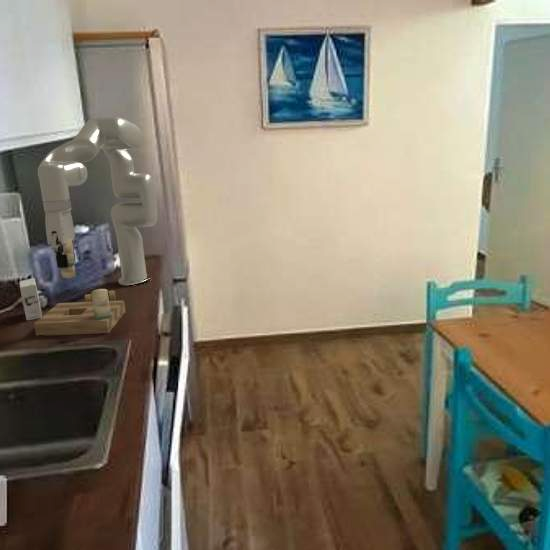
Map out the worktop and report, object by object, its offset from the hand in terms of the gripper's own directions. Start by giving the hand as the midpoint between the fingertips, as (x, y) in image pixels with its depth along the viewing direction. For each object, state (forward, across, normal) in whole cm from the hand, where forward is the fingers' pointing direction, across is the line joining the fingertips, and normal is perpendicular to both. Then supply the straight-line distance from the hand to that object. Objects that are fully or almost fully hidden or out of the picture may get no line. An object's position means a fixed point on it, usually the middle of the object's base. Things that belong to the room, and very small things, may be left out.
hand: (66, 264), depth 159 cm
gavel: (+20, -26, -1) cm, 33 cm away
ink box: (+20, -9, -18) cm, 28 cm away
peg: (+4, 0, 0) cm, 4 cm away
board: (+20, 0, +2) cm, 20 cm away
